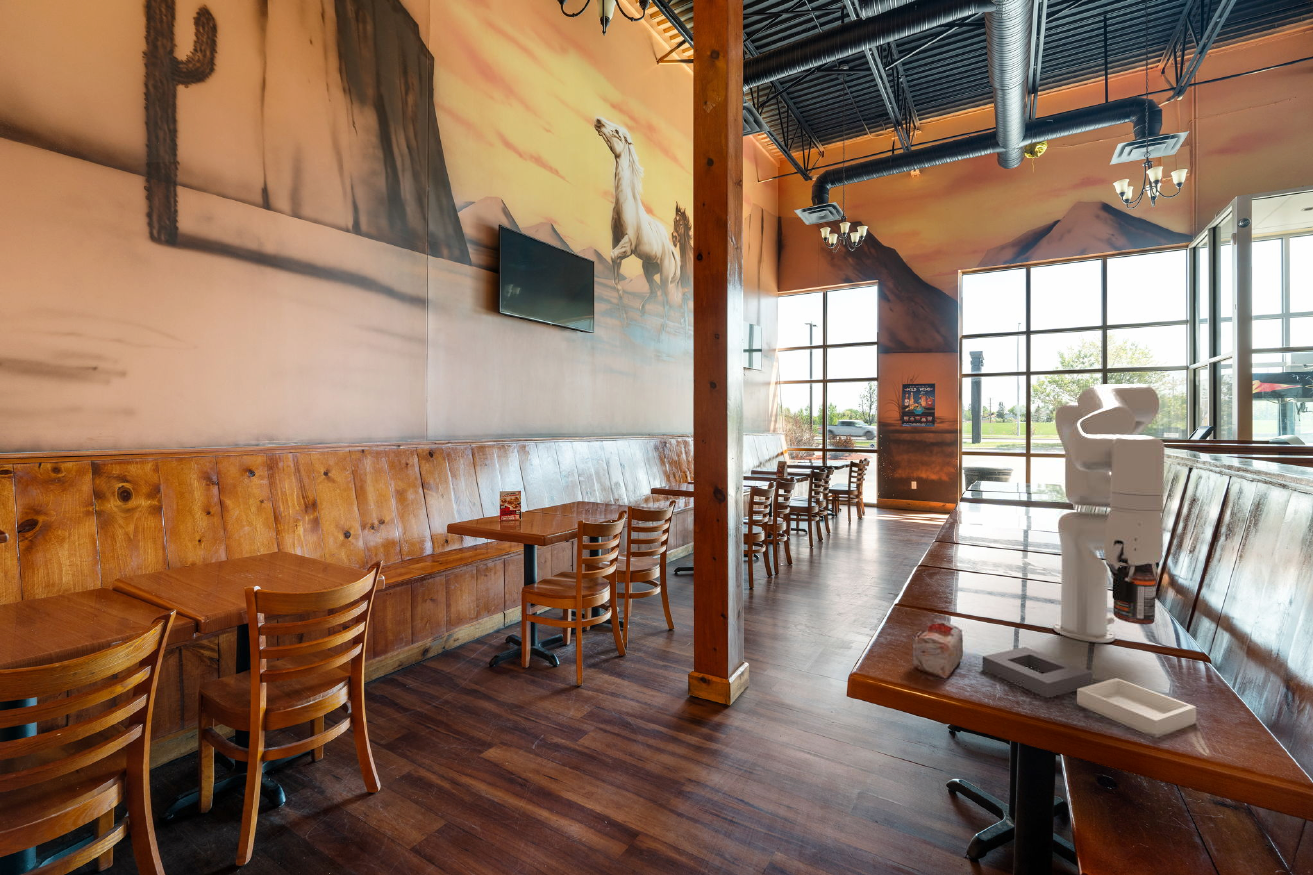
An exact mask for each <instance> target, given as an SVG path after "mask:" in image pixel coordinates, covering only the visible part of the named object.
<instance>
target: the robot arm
mask: <svg viewBox="0 0 1313 875" xmlns="http://www.w3.org/2000/svg"><path fill="white" fill-rule="evenodd" d="M1159 410H1160V398H1159V395H1158V393H1157V392H1156V390H1155V389H1154V388H1153V387H1151V386H1150V385H1148V384H1142V383H1136V384H1133V383H1130V384H1123V383H1122V384H1099V385H1094V386H1093V385H1092V386H1090V387H1087V388H1086V389H1084V390H1082V392H1080V394H1079V395H1078V398H1077V402H1070V403H1065V404H1062V405H1061V406H1059V407H1058V408H1057V410H1056V412H1055V415H1054V417H1055V418H1054V420H1055V421H1054V422H1055V428H1056V433H1057V435H1058V437H1059V441H1060V442H1061V445H1062V447H1063V450H1064V460H1065V461H1064V464H1065V465H1064V480H1065V481H1064V488H1065V497H1066V501H1068V502H1069V503H1070V504H1072V505H1074V506H1077V507H1078V506H1079V507H1085V508H1086V507H1088V508H1089V507H1090V508H1101V509H1103V508H1104V509H1109V513H1106V512H1104V513H1103V512H1093V511H1070V512H1066V513H1064V514H1062V515H1061V516H1060V518H1059V520H1058V521H1057V528H1058V537H1059V542H1060V549H1061V550H1060V552H1061V553H1060V554H1061V555H1060V556H1061V578H1060V579H1061V582H1060V583H1061V584H1060V586H1061V588H1060V590H1061V592H1060V621H1056V622H1055V623H1053V627H1052V628H1053V630H1054V631H1055V632H1056V633H1058V634H1059V633H1060V635H1062V636H1064V637H1068V638H1070V639H1073V640H1078V641H1083V642H1088V643H1089V642H1090V643H1098V644H1099V643H1100V644H1101V643H1102V644H1104V643H1107V644H1108V643H1111V642H1114V641H1115V634H1114V633H1113V631H1111V630H1110V629H1109V630H1108V626H1109V625H1112V624H1115V622H1116V621H1115V618H1114V617H1113V616H1112V615H1111V616H1110V615H1108V591H1109V590H1108V588H1109V585H1108V584H1109V572H1110V577H1111V579H1112V599H1113V601H1114V600H1118V601H1122V602H1126V603H1130V604H1131V603H1134V582H1132V581H1131V580H1132V577H1133V573H1134V569H1135V566H1140V565H1144V564H1147V563H1149V567H1150V568H1149V571H1150V572H1151V573H1152V574H1153V575H1154V576H1155V577H1156V578H1158V575H1159V572H1158V569H1159V568H1160V563H1161V561H1162V559H1163V556H1164V555H1163V552H1164V550H1163V549H1164V543H1163V542H1164V539H1163V538H1164V536H1163V523H1162V514H1164V493H1165V492H1164V489H1165V488H1164V484H1165V481H1164V480H1165V443H1164V441H1163V440H1162V439H1161V438H1158V437H1154V436H1151V435H1141V433H1143V432H1144V430H1145V429H1146V428H1147V427H1148V426H1149V425H1150V424H1151V423H1152V422H1153V421H1154V420H1155V418H1156V417H1157V415H1158V413H1159ZM1096 552H1103V558H1104V560H1105V562H1104V561H1103V560H1102V559H1101V558H1100V557H1099V556H1098V555H1097V554H1096ZM1122 560H1125V561H1128V562H1127V563H1123V562H1121V561H1122ZM1121 566H1122V567H1127V571H1126V572H1125V570H1124V569H1123V568H1122V567H1121ZM1107 567H1108V568H1107ZM1108 569H1109V570H1108ZM1156 598H1157V595H1156V596H1155V599H1156Z"/></svg>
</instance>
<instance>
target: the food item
mask: <svg viewBox="0 0 1313 875" xmlns="http://www.w3.org/2000/svg"><path fill="white" fill-rule="evenodd" d="M926 624H927V625H926V626H927V630H925V632H923V633H922V630H921V631H919V632H918V633H917V634H916V637H915V639H914V641H913V644H912V647H913V651H912V656H913V658H912V659H913V660H912V661H913V664H914V666H915V667H917V668H918V670H920V671H923V672H924V673H927V674H929V675H932V676H936V677H939V678H943V679H947V678H948V677H949V676H950V675H951V674H952V672H953V671H954V669H955V668H956V667H957V665H958V664H959V663H960V661H961V660H962V659H963V656H964V655H963V654H964V645H963V643H964V640H963V639H964V638H963V636H964V635H963V630H962V629H961V628H959V627H958V626H956V625H953V624H952V623H948V622H934V623H931V622H930V621H929V620H927V621H926Z"/></svg>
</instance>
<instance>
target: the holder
mask: <svg viewBox="0 0 1313 875" xmlns="http://www.w3.org/2000/svg"><path fill="white" fill-rule="evenodd" d="M1026 667H1032V668H1033V669H1032V668H1026ZM982 669H983V670H982V671H984V670H985V671H984V672H986V671H987V672H986V673H988V672H990V673H989V674H991V675H993V674H994V675H993V676H995V675H996V677H998V676H999V678H1000V677H1001V678H1000V679H1002V678H1003V680H1005V679H1007V680H1008V681H1007V680H1006V681H1007V682H1009V681H1012V682H1013V683H1012V684H1014V683H1016V684H1018V685H1021V686H1023V687H1025V688H1028V689H1029V690H1028V689H1027V690H1028V691H1030V690H1032V691H1034V692H1037V693H1038V695H1039V694H1041V695H1043V696H1042V697H1044V696H1045V697H1044V698H1046V697H1047V698H1046V699H1050V698H1049V697H1051V698H1054V696H1055V697H1057V696H1056V695H1058V696H1061V695H1060V694H1062V695H1064V693H1065V694H1068V693H1067V692H1069V693H1071V692H1075V691H1074V690H1076V691H1077V689H1079V688H1083V687H1086V686H1090V685H1093V671H1092V670H1089V669H1088V668H1087V669H1086V668H1083V667H1081V666H1078V665H1076V664H1073V663H1070V662H1067V661H1065V660H1062V659H1059V658H1056V657H1054V656H1051V655H1048V654H1046V653H1043V652H1041V651H1037V650H1034V649H1032V648H1029V647H1027V646H1024V647H1019V648H1014V649H1009V650H1005V651H1001V652H996V653H992V654H987V655H984V656H982ZM1034 669H1036V670H1034ZM1037 670H1039V671H1040V672H1039V671H1037ZM1042 672H1043V673H1042ZM1016 684H1015V685H1016ZM1018 685H1017V686H1018ZM1021 686H1020V687H1021ZM1023 687H1022V688H1023ZM1025 688H1024V689H1025ZM1032 691H1031V692H1032ZM1034 692H1033V693H1034ZM1037 693H1036V694H1037ZM1041 695H1040V696H1041Z"/></svg>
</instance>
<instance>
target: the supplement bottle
mask: <svg viewBox="0 0 1313 875" xmlns="http://www.w3.org/2000/svg"><path fill="white" fill-rule="evenodd" d="M1121 562H1123V563H1127V562H1128V561H1125V560H1122V561H1121ZM1121 567H1122V566H1121ZM1122 568H1123V569H1124V570H1125V572H1126V571H1127V567H1122ZM1149 568H1150V567H1149V563H1147V564H1144V565H1140V566H1135V569H1134V573H1133V577H1132V580H1131V581H1132V582H1134V603H1131V604H1130V603H1126V602H1122V601H1118V600H1114V599H1113V606H1112V607H1113V610H1112V611H1113V616H1114V617H1115V619H1116V618H1117V619H1118V620H1120V621H1123V622H1126V623H1129V624H1135V625H1142V626H1143V625H1147V626H1148V625H1152V624H1154V623H1155V620H1156V619H1155V618H1156V617H1155V616H1156V598H1155V596H1156V597H1157V577H1155V576H1154V575H1153V574H1152V573H1151V572H1150V571H1149Z"/></svg>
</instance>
